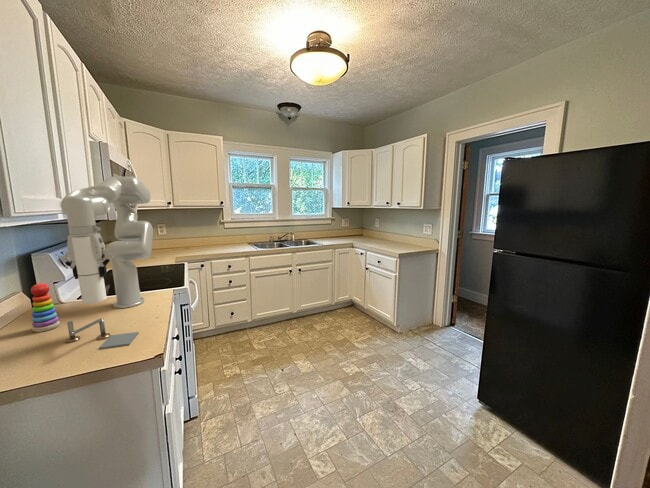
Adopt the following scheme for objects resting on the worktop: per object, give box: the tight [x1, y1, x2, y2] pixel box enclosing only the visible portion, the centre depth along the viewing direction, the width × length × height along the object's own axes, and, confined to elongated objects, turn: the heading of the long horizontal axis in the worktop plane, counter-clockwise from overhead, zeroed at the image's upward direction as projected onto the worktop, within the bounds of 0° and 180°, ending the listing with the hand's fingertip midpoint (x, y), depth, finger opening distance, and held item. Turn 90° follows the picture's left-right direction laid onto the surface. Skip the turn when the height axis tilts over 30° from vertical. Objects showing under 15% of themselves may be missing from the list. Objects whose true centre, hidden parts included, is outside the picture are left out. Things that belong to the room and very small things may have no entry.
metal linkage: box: [65, 318, 112, 344], centre depth 96 cm, size 14×14×8 cm
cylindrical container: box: [72, 237, 107, 305], centre depth 102 cm, size 7×7×25 cm
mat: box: [98, 331, 140, 350], centre depth 99 cm, size 9×9×1 cm
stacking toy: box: [30, 282, 61, 333], centre depth 108 cm, size 8×8×19 cm
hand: (91, 276), depth 103 cm, fingers closed on cylindrical container, 7 cm apart
